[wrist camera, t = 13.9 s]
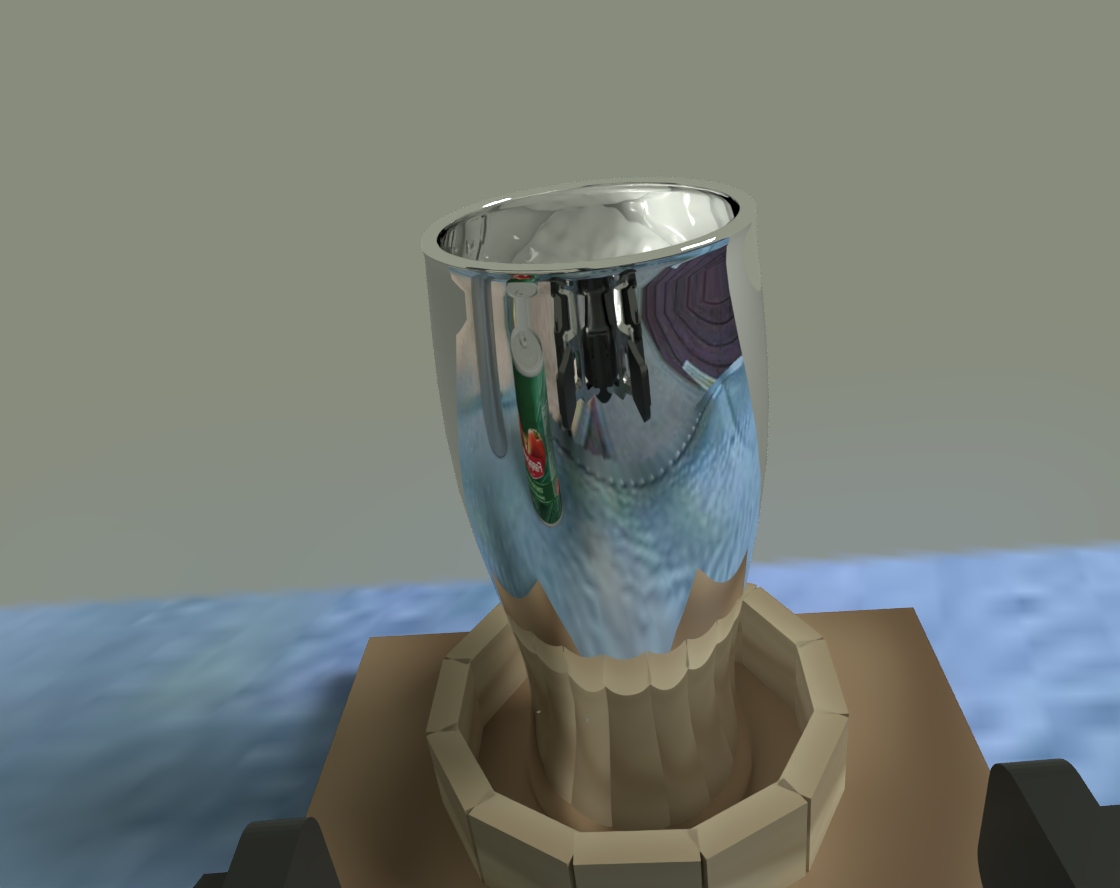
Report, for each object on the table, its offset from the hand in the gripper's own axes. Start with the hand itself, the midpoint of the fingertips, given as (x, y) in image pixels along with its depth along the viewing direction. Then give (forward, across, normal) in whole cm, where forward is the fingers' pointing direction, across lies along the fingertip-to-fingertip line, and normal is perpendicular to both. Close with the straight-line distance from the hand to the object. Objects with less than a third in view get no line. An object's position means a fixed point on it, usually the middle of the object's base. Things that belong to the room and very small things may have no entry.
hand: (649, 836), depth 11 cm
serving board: (+10, 0, +12) cm, 16 cm away
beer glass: (+10, 0, +10) cm, 14 cm away
